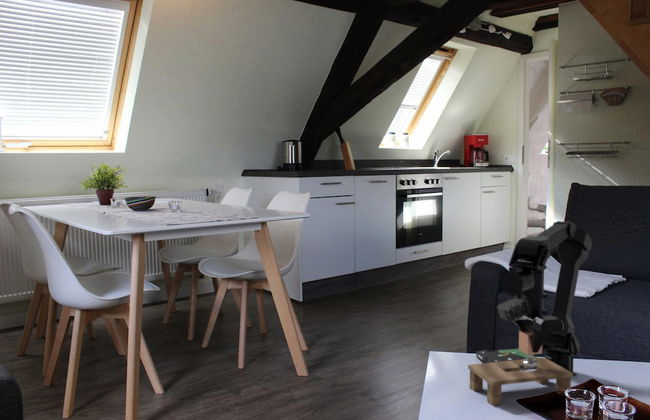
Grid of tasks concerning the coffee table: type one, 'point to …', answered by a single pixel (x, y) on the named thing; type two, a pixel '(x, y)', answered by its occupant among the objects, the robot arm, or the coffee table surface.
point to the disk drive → (501, 355)
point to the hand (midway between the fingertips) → (530, 349)
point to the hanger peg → (527, 349)
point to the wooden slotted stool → (515, 376)
